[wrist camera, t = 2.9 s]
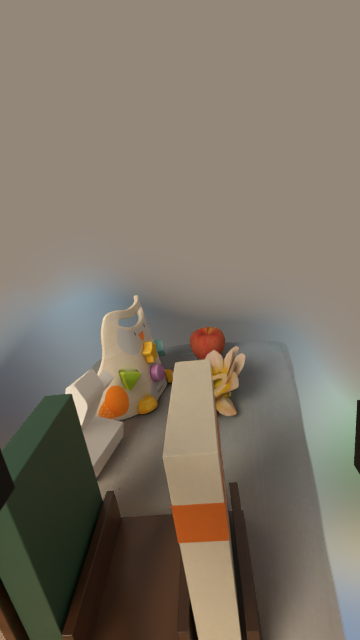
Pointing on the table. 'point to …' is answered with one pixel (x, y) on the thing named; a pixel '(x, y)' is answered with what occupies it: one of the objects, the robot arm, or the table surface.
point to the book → (201, 501)
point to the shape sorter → (131, 366)
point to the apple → (207, 342)
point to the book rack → (141, 582)
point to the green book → (47, 516)
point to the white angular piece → (95, 417)
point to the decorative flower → (225, 378)
